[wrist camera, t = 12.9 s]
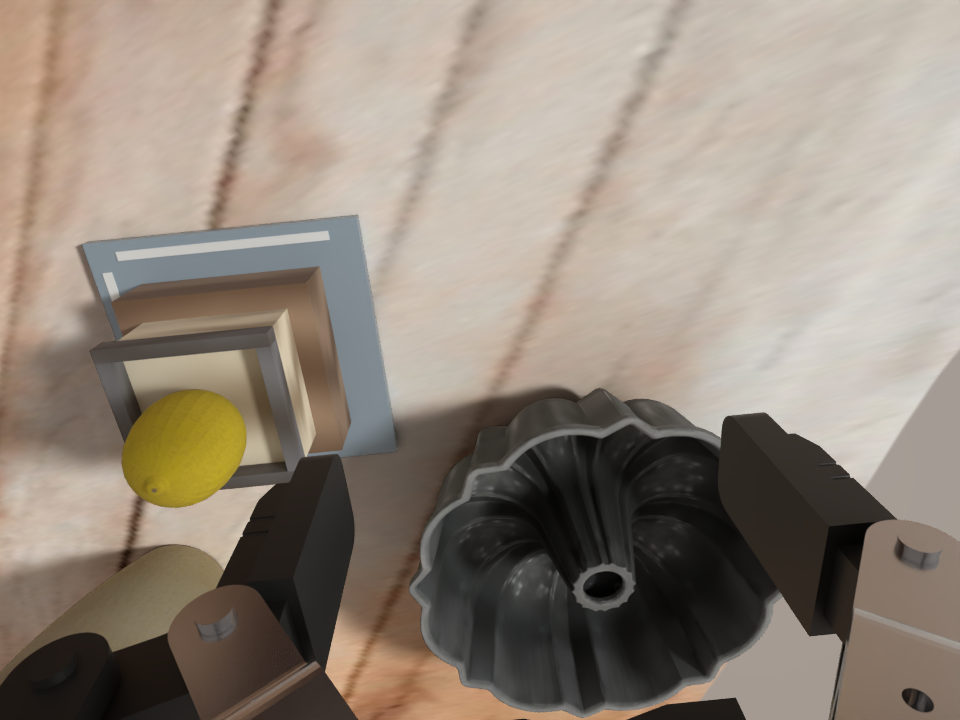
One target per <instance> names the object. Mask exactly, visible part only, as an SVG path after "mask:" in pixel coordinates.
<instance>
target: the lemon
mask: <svg viewBox="0 0 960 720" xmlns="http://www.w3.org/2000/svg"><path fill="white" fill-rule="evenodd" d="M246 442H247V431H246V427H245V423H244V420H243V417H242V416H241V414H240V412H239V411H238V409H237V408H236V407H235V406H234V405H233V404H232V403H231V402H230V401H229V400H228V399H226V398H225V397H223V396H222V395H219V394H217V393H214V392H212V391H207V390H201V389H189V390H182V391H178V392H175V393H171V394H169V395H167V396H165V397H163V398H161V399H160V400H158V401H157V402H155V403H153V404H152V405H151V406H149V407H148V408H147V409H146V410H145V411H144V412H143V414H142V415H141V416H140V417H139V418H138V419H137V421H136V422H135V423H134V425H133V426H132V428H131V430H130V432H129V434H128V437H127V439H126V441H125V444H124V447H123V452H122V468H123V472H124V476H125V479H126V480H127V482H128V484H129V486H130V487H131V488H132V489H133V491H134V492H135V493H136V494H137V495H138V496H140V497H141V498H143V499H144V500H146V501H148V502H150V503H152V504H154V505H158V506H162V507H172V508H179V507H185V506H191V505H194V504H196V503H199V502H201V501H203V500H205V499H207V498H209V497H210V496H211V495H213V494H214V493H215V492H217V491H218V490H219V489H220V488H222V487H223V486H224V485H225V484H226V483H227V482H228V481H229V479H230V478H231V477H232V475H233V474H234V473H235V471H236V470H237V468H238V467H239V465H240V463H241V461H242V458H243V455H244V452H245V449H246Z"/></svg>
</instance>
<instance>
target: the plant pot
mask: <svg viewBox="0 0 960 720" xmlns="http://www.w3.org/2000/svg"><path fill="white" fill-rule="evenodd" d="M223 572H224V571H223V569H222V567H221V566H220V565H219V563H218V562H217V561H216V560H215V559H214V558H212V557H211V556H210V555H208V554H207V553H205V552H203V551H201V550H199V549H196V548H193V547H189V546H183V545H167V546H162V547H159V548H156V549H154V550H152V551H150V552H148V553H147V554H145V555H143V556H142V557H140V558H139V559H137V560H136V561H134V562H132V563H131V564H129V565H128V566H126V567H125V568H123V569H122V570H121V571H119V572H118V573H116V574H115V575H113V576H112V577H110V578H109V579H108V580H106V581H105V582H104V583H102V584H101V585H100V586H98V587H97V588H96V589H94V590H93V591H92V592H90V593H89V594H88V595H86V596H85V597H84V598H83V599H81V600H80V601H79V602H77V603H76V604H75V605H74V606H72V607H71V608H70V609H69V610H68V611H66V612H65V613H64V614H63V615H62V616H61V617H59V618H58V619H57V620H56V621H55V622H53V623H52V624H51V625H50V626H49V627H48V628H46V629H45V630H44V631H43V632H42V633H41V634H40V635H38V636H37V637H36V638H35V639H34V640H33V641H32V642H31V643H30V644H29V645H28V646H26V647H25V648H24V649H23V650H22V651H21V652H20V653H19V654H18V655H17V656H16V657H15V658H14V659H13V660H12V661H11V662H10V663H9V664H8V665H7V666H6V667H5V668H4V669H3V670H2V671H1V672H0V685H1V684H2V683H3V681H4V680H5V679H6V677H7V676H8V675H9V674H10V672H11V671H12V670H13V669H14V668H15V667H16V666H17V665H18V664H19V663H20V662H22V661H23V660H24V659H25V658H26V657H28V656H29V655H31V654H32V653H33V652H35V651H36V650H38V649H40V648H41V647H43V646H45V645H47V644H49V643H50V642H52V641H55V640H57V639H60V638H62V637H65V636H68V635H72V634H77V633H84V632H90V633H96V634H100V635H102V636H103V637H105V639H106V640H107V641H108V643H109V646H110V648H111V650H112V652H114V651H117V650H120V649H123V648H126V647H129V646H132V645H135V644H138V643H141V642H144V641H147V640H149V639H152V638H155V637H158V636H161V635H163V634H166V633H168V631H169V628H170V625H171V623H172V621H173V620H174V618H175V617H176V615H177V614H178V613H179V612H180V611H181V610H182V609H183V608H184V607H185V606H186V605H187V604H188V603H190V602H191V601H193V600H194V599H195V598H197V597H199V596H200V595H202V594H204V593H206V592H208V591H210V590H213V589H216V587H217V585H218V583H219V580H220V578H221V576H222V574H223Z"/></svg>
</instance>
